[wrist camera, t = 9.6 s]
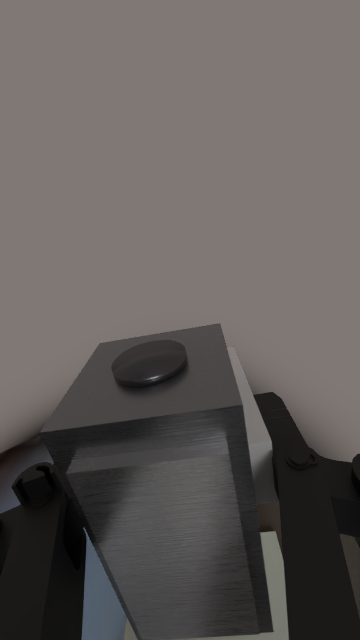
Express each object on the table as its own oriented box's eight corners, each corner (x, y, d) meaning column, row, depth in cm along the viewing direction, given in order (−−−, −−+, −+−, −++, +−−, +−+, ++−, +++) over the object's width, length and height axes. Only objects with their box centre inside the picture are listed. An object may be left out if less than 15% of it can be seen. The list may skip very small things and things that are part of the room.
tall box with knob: (136, 655, 10) (26, 435, 6) (154, 500, 15) (100, 332, 12) (277, 648, 10) (244, 405, 6) (245, 490, 15) (217, 312, 11)
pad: (99, 818, 11) (96, 815, 11) (139, 545, 21) (138, 542, 21) (352, 821, 11) (352, 818, 10) (275, 534, 20) (275, 531, 20)
